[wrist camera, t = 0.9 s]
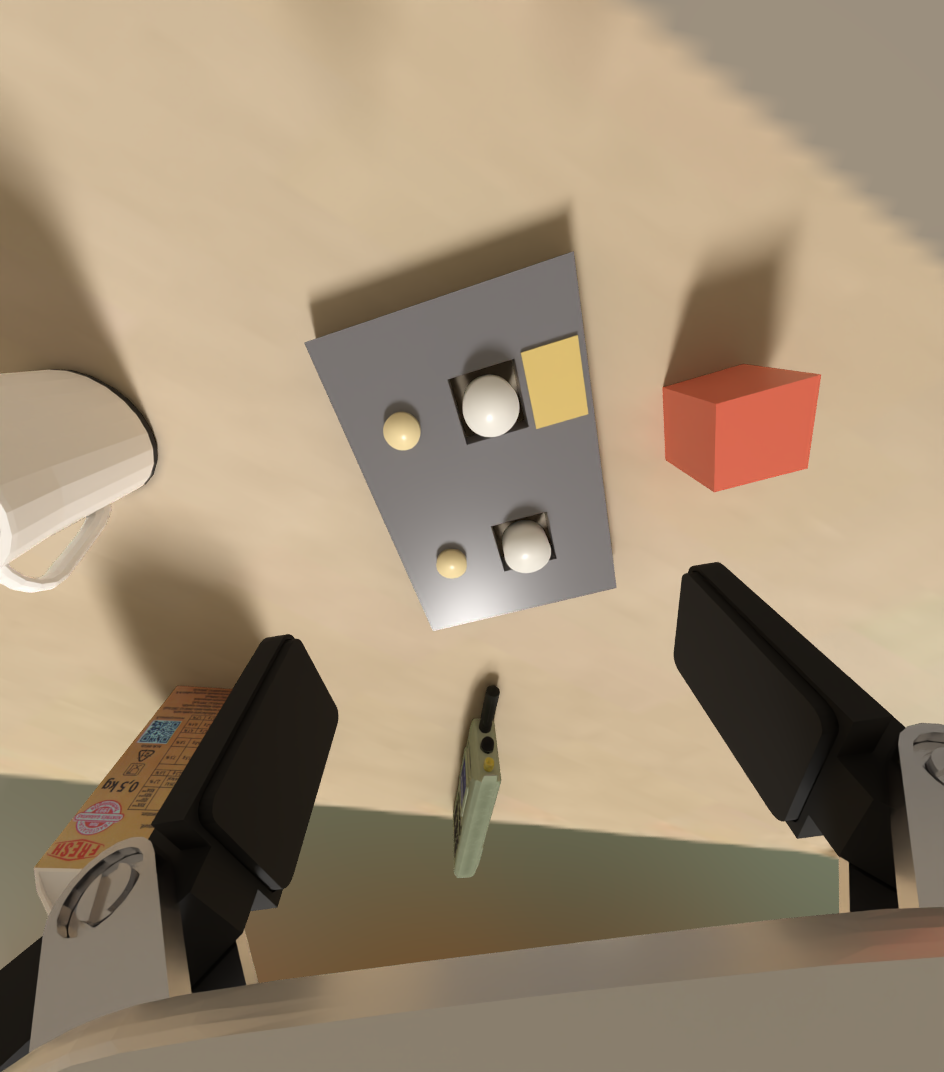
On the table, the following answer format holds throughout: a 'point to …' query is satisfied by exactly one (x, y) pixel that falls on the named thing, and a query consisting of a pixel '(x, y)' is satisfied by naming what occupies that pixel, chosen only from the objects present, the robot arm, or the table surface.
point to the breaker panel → (478, 441)
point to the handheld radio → (476, 789)
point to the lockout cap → (740, 424)
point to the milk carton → (131, 788)
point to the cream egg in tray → (490, 405)
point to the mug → (64, 464)
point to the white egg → (525, 546)
